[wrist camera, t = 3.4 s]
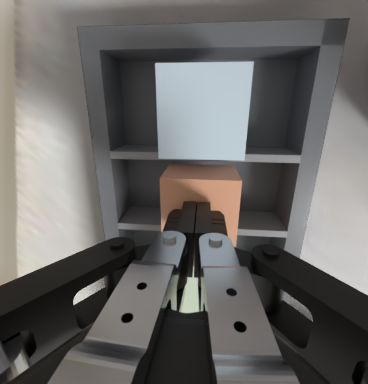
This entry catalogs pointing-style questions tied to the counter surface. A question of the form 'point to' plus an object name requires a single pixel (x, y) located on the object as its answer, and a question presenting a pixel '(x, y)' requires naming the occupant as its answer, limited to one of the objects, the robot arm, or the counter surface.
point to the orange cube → (202, 191)
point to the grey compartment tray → (257, 122)
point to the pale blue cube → (203, 109)
